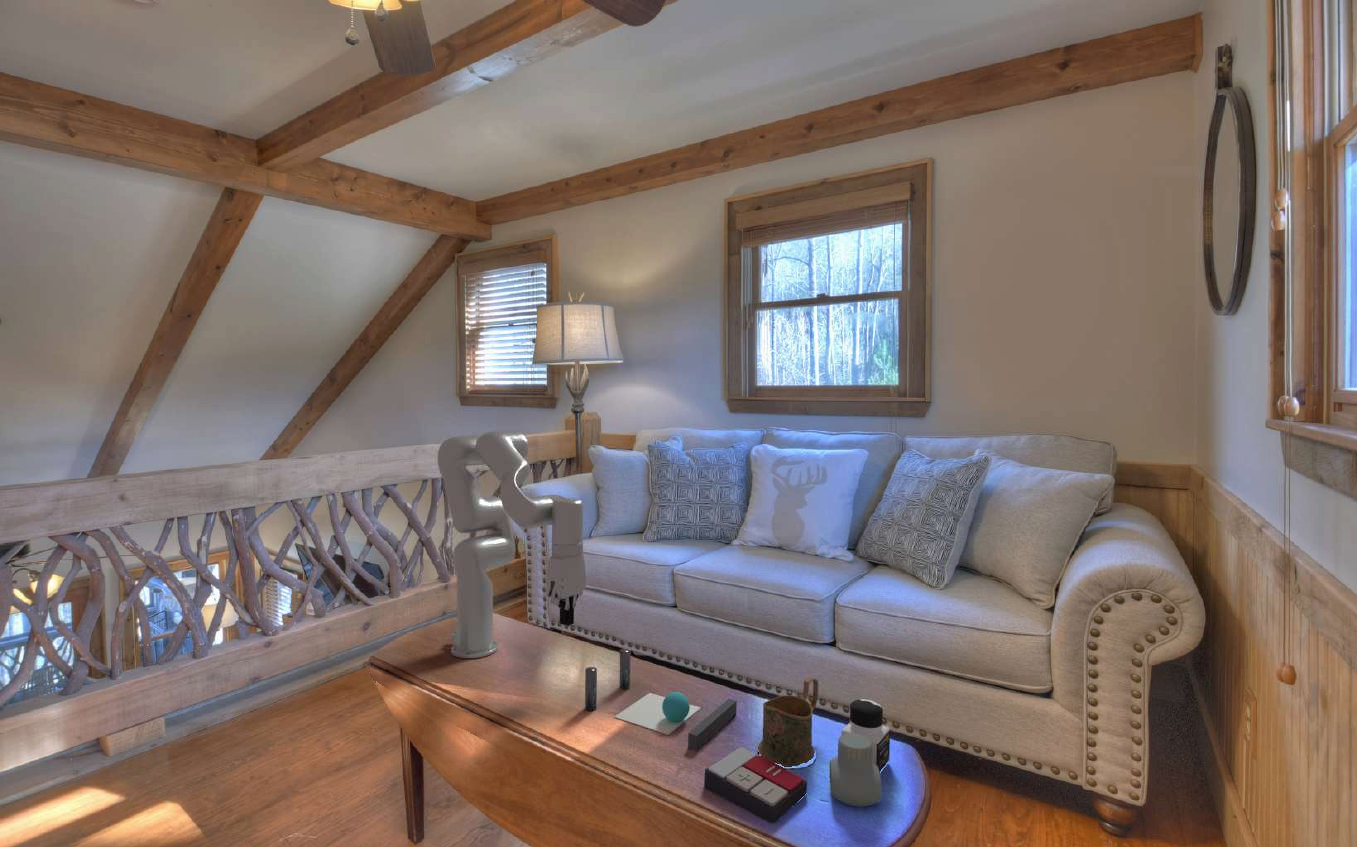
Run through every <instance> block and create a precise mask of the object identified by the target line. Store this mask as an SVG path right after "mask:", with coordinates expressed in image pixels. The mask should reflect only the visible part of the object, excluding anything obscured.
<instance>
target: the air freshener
mask: <svg viewBox="0 0 1357 847" xmlns="http://www.w3.org/2000/svg"><path fill="white" fill-rule="evenodd" d="M837 740H838V741H837V743H838V745H837V756H835V757H832V759H830V760H829V787H830V794H831V795H832V796H833V797H834V798H835V799H837V800H838V801H840V802H842V803H844V804H846V805H849V806H853V807H869V806H871V805H875V804H877V803H879V802H880V801H881V800H882V796H883V795H882V793H883V792H882V780H881V774H880V772H879V768H878V766H877V765H876V764H875V763H873V762H872V750H873V745H872V742H871V741H870V740H869V739H868V738H867V737H865V736H863V735H860V734H855V733H847V734H843V735H842V736H841V735H840V736H839V737H838V739H837Z"/></svg>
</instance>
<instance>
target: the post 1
mask: <svg viewBox="0 0 1357 847" xmlns="http://www.w3.org/2000/svg"><path fill="white" fill-rule="evenodd" d="M584 672H585V675H584V681H585V682H584V683H585V684H584V710H585V711H587V712H594V711H597V706H598V705H597V702H598V701H597V696H598V694H597V693H598V692H597V691H598V689H597V686H598V668H597V667H594V666H590V667H589V666H588V667H586V668H585V669H584Z"/></svg>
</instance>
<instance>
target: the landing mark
mask: <svg viewBox="0 0 1357 847" xmlns="http://www.w3.org/2000/svg"><path fill="white" fill-rule="evenodd" d="M665 697H666V696H661V695H659V694H655V693H651V692H649V693H648V694H646V695H644V696H642V697H641V698H640V699H639V700H636V701H635V702H634V703H632V704H631V705H630V706H628V707H627V708H625V709H623V710H622V711H620V712H619V713H618V714H616V715H614V717H613V718H615V719H618V720H621V721H624V722H627V723H629V724H633V725H635V726H639V727H641V728H646V729H648V730H651V731H655V732H657V733H660V734H663V735H667V736H669V735H670V734H671V733H673V731H675V730H676V729H678V728H679V727H681V725H682V724H684V723H685V722H687V720H689V719H690V718H691V717H692V716H694V715H695V714H696V713H697V712H698V711H700V710H701V709H702V707H701V706H696V705H692V704H690V703H689V705H690V709H689V713H688V715H687V716H686V718H685V719H683V720H682V721H679V722H673V721H670V720H668V719H667V718H666V717H665V715H664V713H663V710H662V704H663V701H664V699H665Z"/></svg>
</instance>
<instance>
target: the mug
mask: <svg viewBox="0 0 1357 847" xmlns="http://www.w3.org/2000/svg"><path fill="white" fill-rule="evenodd" d="M810 683H813V684H812V686H813V687H812V695H811V701H810V702H809V701H808V700H807V698H808V695H809V691H810V690H809V689H810V688H809V687H810ZM818 697H819V681H818V679H817V678H814V677H809V678H808V677H807V678H806V679H804V681H803V691H802V694H801V695H800V696H796V695H790V694H789V695H788V694H787V695H785V694H784V695H779V696H777V697H773V698H772V699H769V700H766V701H765V702H763V703H762V707H763V708H762V711H763V712H762V740H761V741H760V742H759V743H758V745H759V746H758V745H757V751H758V750H759V753H760V754H761V756H762V757H764V758H765V759H767V760H769V761H771V762H773V763H777V764H781V765H782V766H784V767H792V766H798V765H800V764H802V763H807V762H808V761H809V760H811V759H812V758H813V757H814V753H815V751H816V750H815V751H814V749H815V747H814V746H813V745H812V743H813V738H812V737H813V733H812V728H813V726H812V725H813V711H814V710H815V708H816V707H817V703H818V699H819V698H818ZM813 747H814V748H813Z"/></svg>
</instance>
